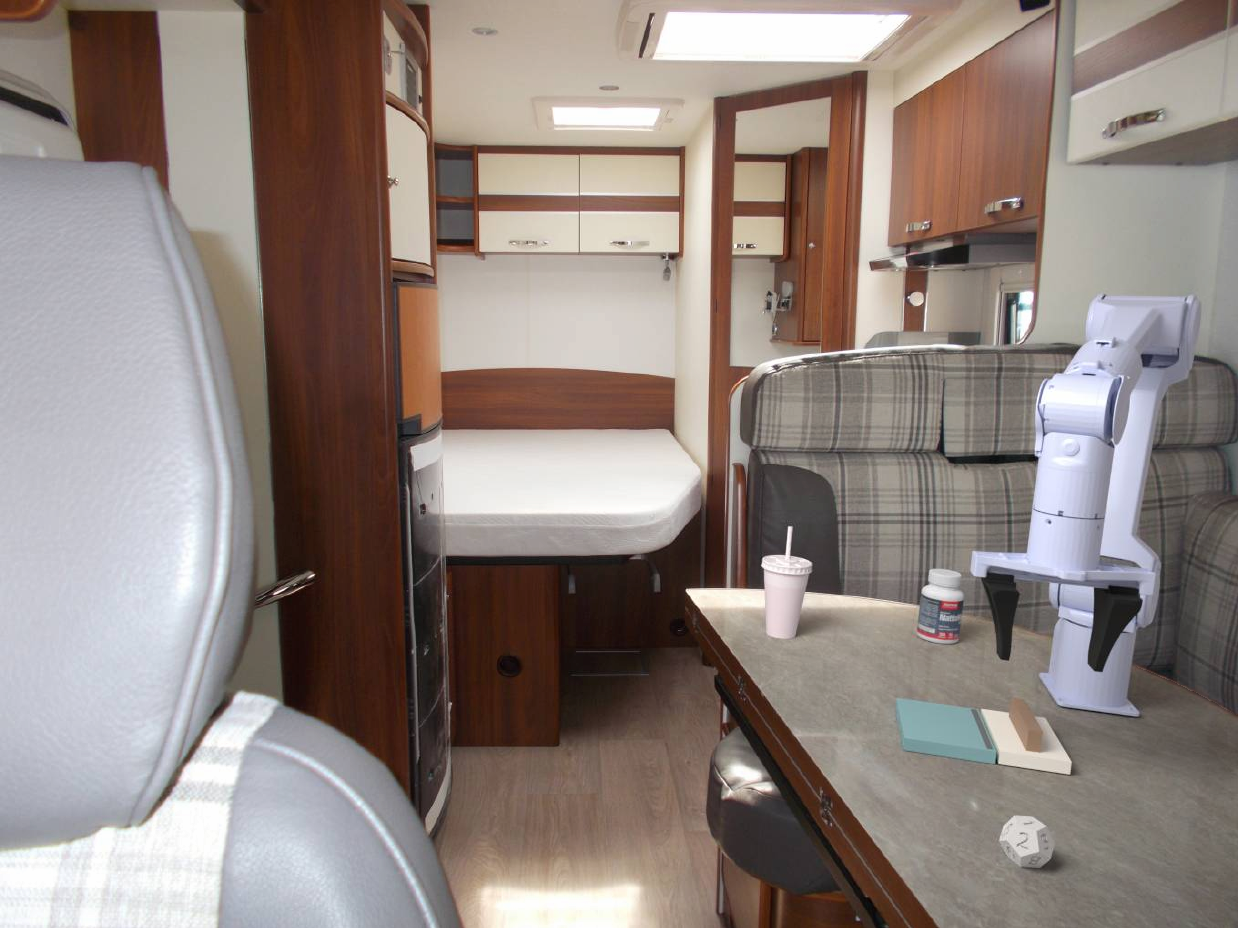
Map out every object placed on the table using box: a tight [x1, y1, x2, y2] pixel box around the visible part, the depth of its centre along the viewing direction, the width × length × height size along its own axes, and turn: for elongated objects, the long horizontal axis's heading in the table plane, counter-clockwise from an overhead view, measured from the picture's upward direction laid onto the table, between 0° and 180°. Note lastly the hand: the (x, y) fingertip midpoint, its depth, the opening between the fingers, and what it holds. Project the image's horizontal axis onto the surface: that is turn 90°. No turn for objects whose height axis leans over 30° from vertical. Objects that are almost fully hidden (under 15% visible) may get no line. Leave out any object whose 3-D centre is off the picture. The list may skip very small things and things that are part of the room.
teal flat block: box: [894, 697, 997, 765], centre depth 86 cm, size 10×8×1 cm
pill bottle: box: [916, 568, 965, 645], centre depth 116 cm, size 5×5×9 cm
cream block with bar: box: [980, 696, 1073, 775], centre depth 85 cm, size 10×6×3 cm, turn 167°
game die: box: [998, 815, 1056, 869], centre depth 65 cm, size 4×4×3 cm
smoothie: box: [760, 525, 813, 640], centre depth 113 cm, size 6×6×14 cm
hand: (1048, 662), depth 79 cm, fingers open, 7 cm apart
